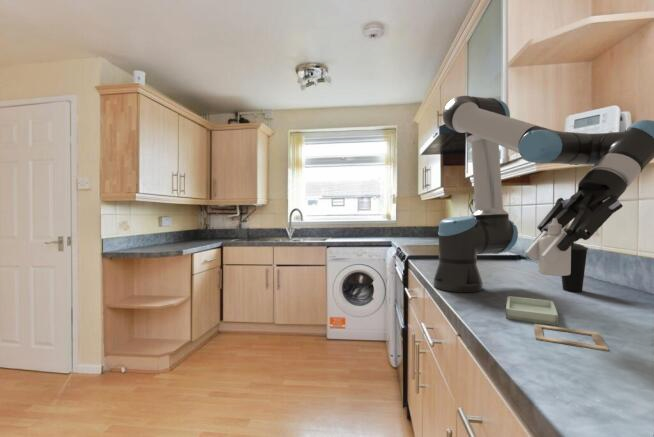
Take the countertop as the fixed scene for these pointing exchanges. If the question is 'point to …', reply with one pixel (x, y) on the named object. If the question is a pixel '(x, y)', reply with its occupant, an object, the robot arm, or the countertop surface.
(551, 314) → the tray
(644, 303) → the countertop surface
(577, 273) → the drinking cup
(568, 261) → the eye dropper bottle
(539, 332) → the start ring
